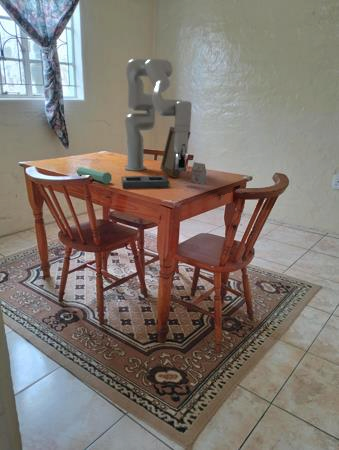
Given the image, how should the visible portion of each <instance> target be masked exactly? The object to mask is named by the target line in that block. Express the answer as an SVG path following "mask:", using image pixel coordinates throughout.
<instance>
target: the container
mask: <svg viewBox="0 0 339 450" xmlns="http://www.w3.org/2000/svg"><path fill="white" fill-rule="evenodd" d="M76 174H77V175H78V176H79V175H91V176H92V177H93V179H94V180H93V181H97V182H101V183H103V184H104V185H108V184H110V183H111V182H112V179H113V178H112V174H111V173H110V172H108V171H107V172H104V171H100V170H96V169H92V168H88V167H84V166H79V167H78V168H77V169H76Z"/></svg>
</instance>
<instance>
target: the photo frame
mask: <svg viewBox="0 0 339 450" xmlns="http://www.w3.org/2000/svg"><path fill="white" fill-rule="evenodd" d="M168 130H169V131H168V135H167V139H166V143H165V146H164V152H163V156H162V159H161V164H160V169H161V170H162V172H164V173H166V174H168V175H169V176H171V177H174V178H179V179H180V176H181V172H178V171H175V161H176V154H177V152H175V151H174V142H175V133H176V132H175V131H174V127H173V126H169V129H168ZM190 137H191V131H190V132H188V141H189V140H190ZM187 171H188V170H187V163H186V164H185V171H184V173H186V172H187Z"/></svg>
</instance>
